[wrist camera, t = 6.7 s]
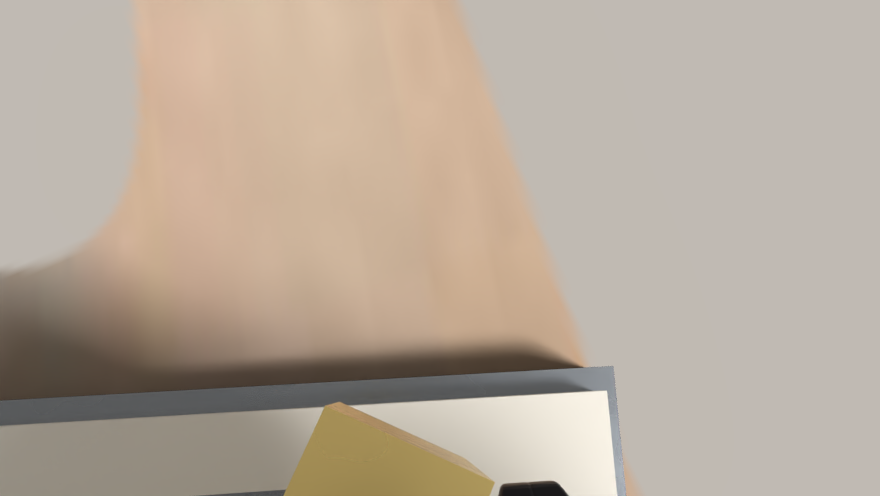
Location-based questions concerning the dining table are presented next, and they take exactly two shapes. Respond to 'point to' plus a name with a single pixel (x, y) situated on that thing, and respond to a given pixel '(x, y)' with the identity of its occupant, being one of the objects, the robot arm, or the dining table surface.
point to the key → (379, 461)
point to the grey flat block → (320, 400)
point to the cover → (286, 436)
